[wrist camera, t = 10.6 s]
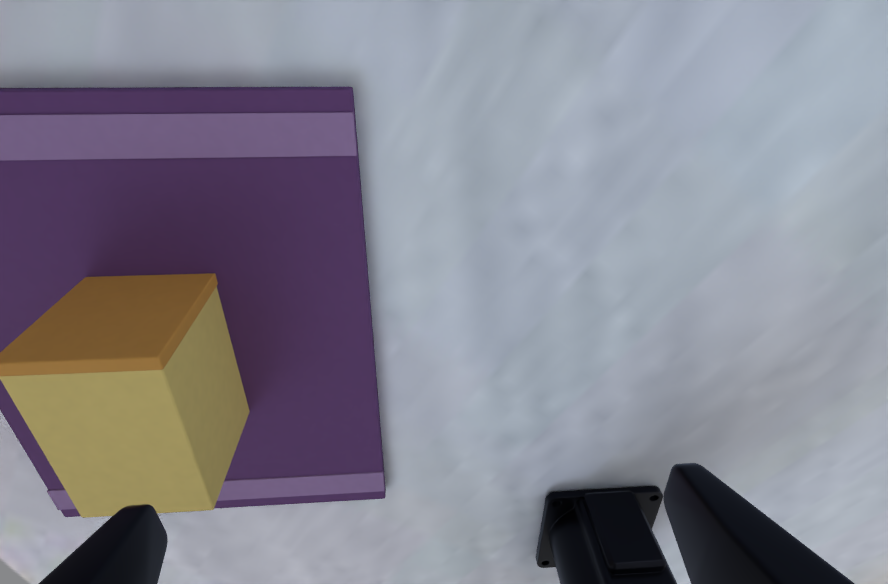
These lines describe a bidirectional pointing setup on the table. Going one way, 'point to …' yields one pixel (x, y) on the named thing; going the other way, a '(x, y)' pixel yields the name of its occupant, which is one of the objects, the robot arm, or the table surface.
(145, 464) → the cheese
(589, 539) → the robot arm
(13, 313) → the towel
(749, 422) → the table surface
